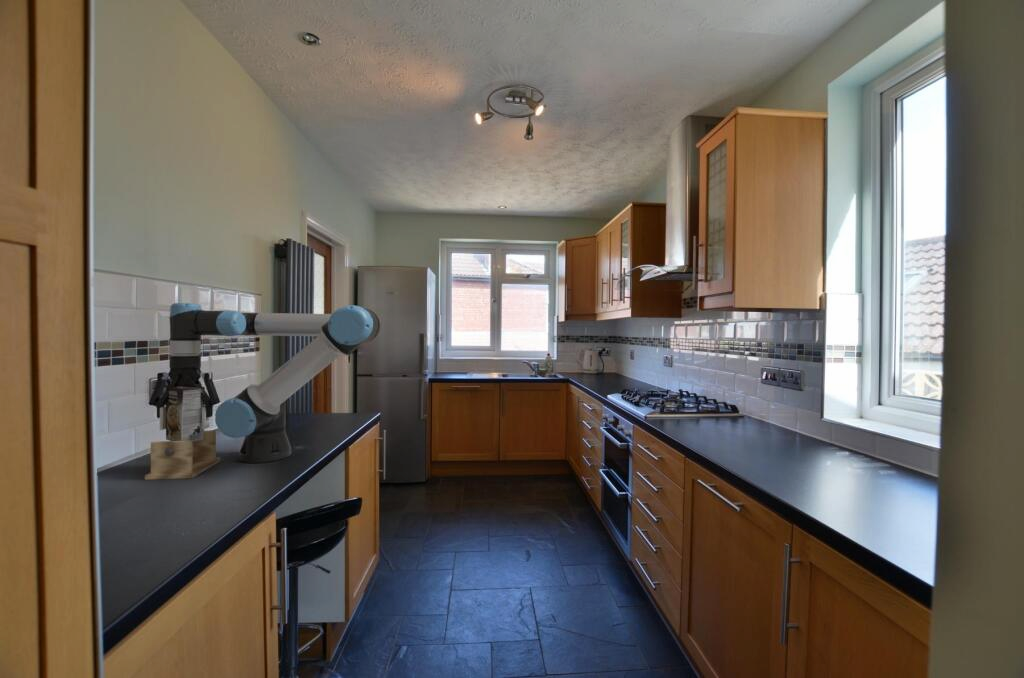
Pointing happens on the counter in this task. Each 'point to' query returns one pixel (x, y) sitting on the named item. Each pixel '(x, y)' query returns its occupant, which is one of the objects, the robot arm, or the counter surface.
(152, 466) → the oak holder
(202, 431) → the coffee box
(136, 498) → the counter surface
